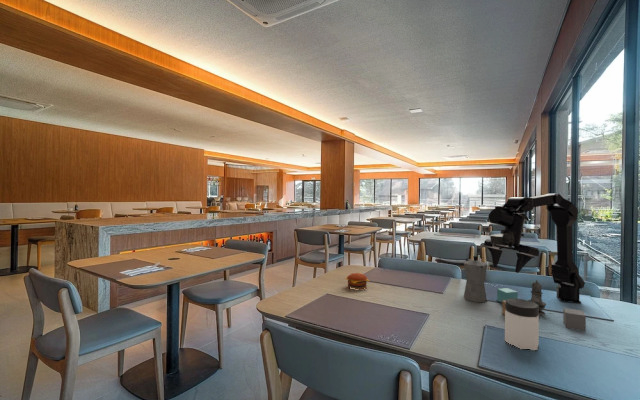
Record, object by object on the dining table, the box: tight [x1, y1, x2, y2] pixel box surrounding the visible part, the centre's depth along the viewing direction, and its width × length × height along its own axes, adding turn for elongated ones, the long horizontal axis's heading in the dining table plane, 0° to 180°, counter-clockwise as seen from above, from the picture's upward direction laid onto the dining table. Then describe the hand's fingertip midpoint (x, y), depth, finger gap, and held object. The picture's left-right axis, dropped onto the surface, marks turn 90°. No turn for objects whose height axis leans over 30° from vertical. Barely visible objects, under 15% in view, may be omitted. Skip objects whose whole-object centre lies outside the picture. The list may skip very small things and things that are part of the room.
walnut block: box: [501, 300, 506, 316], centre depth 108 cm, size 5×5×5 cm
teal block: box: [496, 287, 519, 304], centre depth 122 cm, size 5×5×5 cm
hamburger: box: [344, 272, 370, 290], centre depth 143 cm, size 9×10×7 cm
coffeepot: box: [463, 255, 488, 303], centre depth 128 cm, size 15×9×18 cm, turn 176°
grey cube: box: [562, 307, 587, 332], centre depth 100 cm, size 5×5×5 cm
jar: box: [504, 298, 540, 351], centre depth 88 cm, size 9×8×12 cm
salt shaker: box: [527, 280, 547, 316], centre depth 112 cm, size 6×6×12 cm
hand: (505, 269), depth 114 cm, fingers open, 9 cm apart
